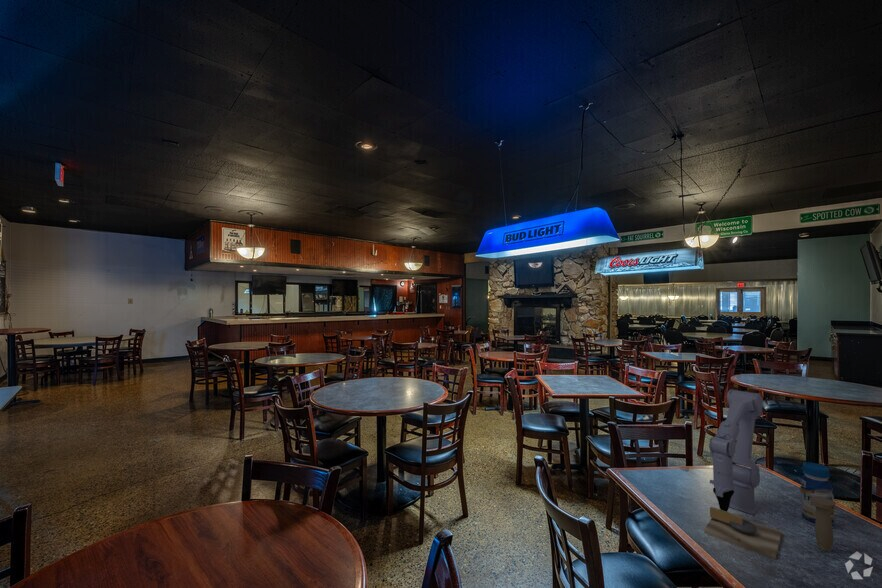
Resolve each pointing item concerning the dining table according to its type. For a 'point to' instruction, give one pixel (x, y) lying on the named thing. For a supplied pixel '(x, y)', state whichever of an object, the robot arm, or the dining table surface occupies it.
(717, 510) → the lever with round base
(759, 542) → the post board
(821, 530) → the handle
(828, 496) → the beverage bottle
